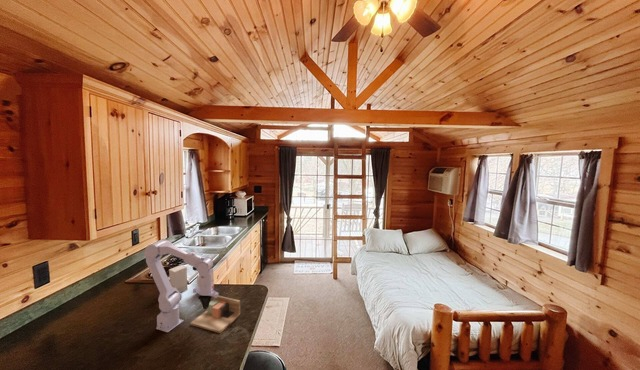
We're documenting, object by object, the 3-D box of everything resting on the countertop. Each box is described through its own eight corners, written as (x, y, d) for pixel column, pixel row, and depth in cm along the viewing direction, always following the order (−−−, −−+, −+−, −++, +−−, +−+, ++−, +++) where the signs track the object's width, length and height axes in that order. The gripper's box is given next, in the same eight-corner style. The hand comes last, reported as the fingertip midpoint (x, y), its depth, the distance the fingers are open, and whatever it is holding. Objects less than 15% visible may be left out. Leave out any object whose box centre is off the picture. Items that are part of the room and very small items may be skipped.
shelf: (220, 333, 121) (219, 317, 120) (190, 324, 127) (190, 309, 126) (240, 314, 136) (240, 300, 135) (213, 307, 142) (212, 294, 141)
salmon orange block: (218, 318, 130) (217, 309, 130) (211, 316, 132) (211, 307, 131) (226, 310, 137) (226, 302, 137) (221, 309, 138) (220, 300, 138)
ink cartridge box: (210, 287, 164) (209, 266, 163) (214, 289, 161) (213, 268, 160) (197, 292, 158) (196, 270, 156) (201, 295, 155) (200, 272, 153)
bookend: (227, 318, 131) (227, 309, 130) (221, 316, 132) (221, 307, 131) (234, 312, 136) (234, 303, 135) (227, 310, 137) (227, 302, 136)
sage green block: (213, 314, 134) (212, 305, 133) (207, 312, 135) (207, 304, 134) (219, 308, 139) (219, 300, 138) (214, 307, 140) (214, 299, 139)
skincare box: (182, 287, 164) (181, 264, 163) (188, 289, 161) (187, 266, 159) (169, 292, 157) (168, 269, 155) (175, 295, 153) (174, 271, 152)
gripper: (222, 281, 126) (223, 306, 127) (200, 276, 130) (200, 301, 132) (212, 288, 119) (213, 314, 120) (189, 282, 124) (190, 308, 125)
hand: (206, 308), depth 126 cm, fingers closed
